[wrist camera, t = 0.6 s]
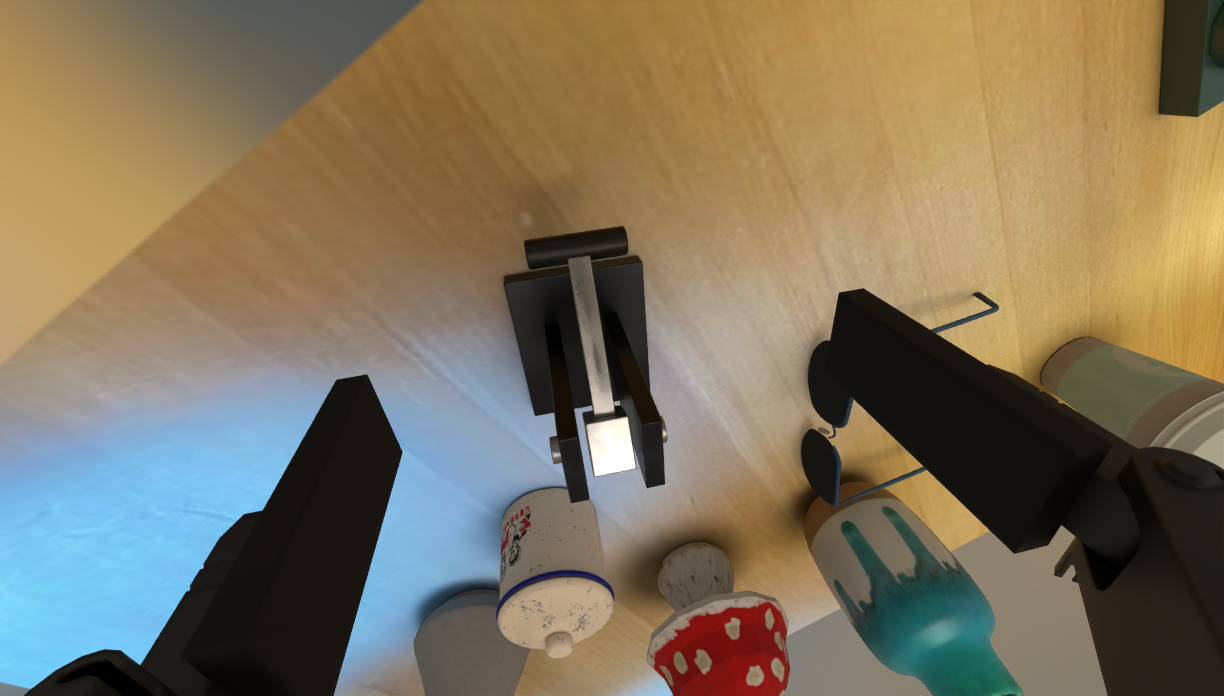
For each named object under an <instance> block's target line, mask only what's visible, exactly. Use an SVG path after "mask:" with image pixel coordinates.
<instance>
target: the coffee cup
mask: <svg viewBox="0 0 1224 696" xmlns="http://www.w3.org/2000/svg"><path fill="white" fill-rule="evenodd" d="M1041 381H1042V384H1043V385H1044V386H1046V387H1047V388H1048V389H1049V390H1051V391H1052V392H1053V393H1055V394H1056V395H1057V396H1058V397H1060V398H1061V399H1062V400H1064V401H1065V402H1066V403H1068V404H1069V405H1070V406H1071V407H1073V408H1074V409H1075V410H1077V411H1078V412H1079V413H1081V414H1082V415H1083V416H1085V417H1087V418H1088V419H1090V420H1091V421H1093V422H1095V423H1096V424H1098V425H1100V426H1101V427H1103V428H1105V429H1106V430H1108V431H1110V432H1111V433H1113V434H1115V435H1116V436H1118V437H1120V438H1121V439H1123V440H1124V441H1126V442H1128V443H1129V444H1131V445H1133V446H1134V447H1136V448H1138V449H1140V448H1145V447H1153V446H1155V447H1163V448H1172V449H1176V450H1179V451H1183V452H1186V453H1190V454H1193V455H1196V456H1198V457H1200V458H1203V459H1205V460H1207V461H1210V462H1212V463H1214V464H1216V465H1218V466H1219V467H1221V468H1222V469H1224V384H1223V383H1220V382H1218V381H1215V380H1212V379H1209V378H1206V377H1204V376H1201V375H1198V374H1195V373H1192V372H1190V371H1187V370H1184V369H1181V368H1178V367H1175V366H1173V365H1170V364H1167V363H1164V362H1161V361H1158V360H1156V359H1153V358H1150V357H1147V356H1144V355H1141V354H1139V353H1136V352H1133V351H1130V350H1127V349H1125V348H1122V347H1119V346H1116V345H1113V344H1110V343H1107V342H1104V341H1102V340H1099V339H1096V338H1093V337H1085V338H1080V339H1077V340H1075V341H1072V342H1070V343H1069V344H1067V345H1065V346H1064V347H1062V348H1061V349H1060V350H1058V351H1057V352H1056V353H1055V354H1054V355H1053V356H1052V357H1051V358H1050V359H1049V361H1048V362H1047V363H1046V365H1045V367H1044V369H1043V371H1042V374H1041Z"/></svg>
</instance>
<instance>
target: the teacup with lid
mask: <svg viewBox="0 0 1224 696" xmlns="http://www.w3.org/2000/svg"><path fill="white" fill-rule="evenodd" d="M613 606H614V593H613V590H612V588H611V586H610V585H609V582H608V576H607V571H606V565H605V560H604V554H603V549H602V543H601V538H600V532H599V527H598V521H597V516H596V511H595V508H594V506H593V505H592V503H591V502H590V501H589V500H586V501H581V502H576V503H571V502H570V498H569V493H568V489H561V488H549V489H543V490H538V491H535V492H532V493H529V494H527V495H525V496H523V497H521V498H520V499H518V500H517V501H516V502H514V503H513V504H512V505H511V506H510V507H509V509H508V510H507V511H506V513H505V515H504V517H503V520H502V531H501V569H500V602H499V604H498V606H497V610H496V620H497V623H498V626H499V629H500V630H501V632H502V634H503V635H504V636H505V637H506V638H507V639H508V640H510V641H511V642H513V643H515V644H517V645H520V646H523V647H527V648H534V649H546V653H547V655H548V656H549V657H551V658H556V659H558V658H563V657H566V656H568V655H569V654H570V653H571V651H572V650H573V644H575V643H577V642H580V641H582V640H584V639H586V638H588V637H590V636H592V635H593V634H595V633H596V632H597V631H599V630H600V629H601V628H602V627H603V626H604V625H605V624H606V622H607V621H608V620H609V618H610V616H611V613H612V611H613Z"/></svg>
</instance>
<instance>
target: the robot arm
mask: <svg viewBox="0 0 1224 696" xmlns="http://www.w3.org/2000/svg"><path fill="white" fill-rule="evenodd" d="M825 372H826V373H827V374H828V375H829V376H830V377H831V378H832V379H833V380H834V381H836V382H837V383H838V384H839V385H840V386H841V387H842V388H843V389H844V390H845V391H846V392H847V393H848V394H849V395H850V396H851V397H852V398H853V399H854V400H855V401H856V402H857V403H858V404H859V405H860V406H861V407H862V408H864V409H865V410H866V411H867V412H868V413H869V414H870V415H871V416H872V417H873V418H874V419H875V420H876V421H877V422H878V423H879V424H880V425H881V426H882V427H883V428H884V429H885V430H886V431H887V432H888V433H889V434H890V435H892V436H893V437H894V438H895V439H896V440H897V441H898V442H899V443H900V444H901V445H902V446H903V447H904V448H905V449H906V450H907V451H908V452H909V453H910V454H911V455H912V456H913V457H914V458H915V459H916V460H917V461H918V462H920V463H921V464H922V465H923V466H924V467H925V468H926V469H927V470H928V471H929V472H930V473H931V474H932V475H933V476H934V477H935V478H936V479H937V480H938V481H939V482H940V483H941V484H942V485H943V486H944V487H945V488H946V489H948V490H949V491H950V492H951V493H952V494H953V495H954V496H955V497H956V498H957V499H958V500H959V501H960V502H961V503H962V504H963V505H964V506H965V507H966V508H967V509H968V510H969V511H970V512H971V513H972V514H973V515H974V516H976V517H977V518H978V519H979V520H980V521H981V522H982V523H983V524H984V525H985V526H986V527H987V528H988V529H989V530H990V531H991V532H992V533H993V534H994V535H995V536H996V537H997V538H998V539H999V540H1000V541H1002V542H1003V543H1004V544H1005V545H1006V546H1007V547H1008V548H1009V549H1010V550H1011V551H1012V552H1013V553H1014V554H1015V553H1019V552H1023V551H1027V550H1031V549H1035V548H1039V547H1043V546H1047V545H1048V544H1049V543H1050V541H1051V540H1052V538H1053V537H1054V535H1055V534H1056V532H1057V531H1058V529H1059V528H1060V526H1061V525H1062V526H1064V527H1065V528H1066V529H1067V530H1069V531H1070V532H1071V533H1072V534H1073V535H1075V536H1076V537H1075V539H1074V540H1073V541H1072V543H1071V544H1070V546H1069V547H1068V549H1067V550H1066V552H1065V553H1064V554H1063V556H1062V558H1061V559H1060V561H1059V562H1058V563H1057V565H1056V566H1055V573H1054V575H1055V576H1058V577H1062V576H1063V575H1064V573H1065V572H1066V571H1067V569H1068V568H1069V567H1070V565H1074V567H1075V572H1076V575H1075V576H1074V577H1073V579H1072V581H1073V582H1077V583H1079V587H1080V591H1081V595H1082V599H1083V602H1084V606H1085V610H1086V614H1087V618H1088V622H1089V625H1090V629H1091V633H1092V637H1093V641H1094V645H1095V649H1096V652H1097V656H1098V660H1099V664H1100V668H1101V671H1102V676H1103V679H1104V683H1105V687H1106V691H1107V695H1108V696H1224V469H1222V468H1221V467H1219V466H1218V465H1216V464H1214V463H1212V462H1210V461H1207V460H1205V459H1203V458H1200V457H1198V456H1196V455H1193V454H1190V453H1186V452H1183V451H1179V450H1176V449H1172V448H1163V447H1155V446H1153V447H1145V448H1140V449H1138V448H1136V447H1134V446H1133V445H1131V444H1129V443H1128V442H1126V441H1124V440H1123V439H1121V438H1120V437H1118V436H1116V435H1115V434H1113V433H1111V432H1110V431H1108V430H1106V429H1105V428H1103V427H1101V426H1100V425H1098V424H1096V423H1095V422H1093V421H1091V420H1090V419H1088V418H1087V417H1085V416H1083V415H1082V414H1080V413H1078V412H1077V411H1075V410H1073V409H1072V408H1070V407H1068V406H1067V405H1065V404H1063V403H1061V404H1059V403H1058V400H1057V399H1055V398H1054V397H1052V396H1050V395H1049V394H1047V393H1045V392H1040V391H1039V388H1037V387H1035V386H1034V385H1032V384H1030V383H1029V382H1027V381H1025V380H1024V379H1022V378H1021V377H1019V376H1017V375H1015V374H1013V373H1010V372H1007V371H1005V370H1002V369H999V368H997V367H994V366H992V365H985V364H984V363H982V362H981V361H979V360H977V359H976V358H974V357H973V356H971V355H969V354H968V353H966V352H965V351H963V350H961V349H960V348H958V347H957V346H955V345H953V344H952V343H950V342H949V341H947V340H945V339H944V338H942V337H941V336H939V335H937V334H936V333H934V332H932V331H931V330H929V329H928V328H926V327H924V326H923V325H921V324H920V323H918V322H916V321H915V320H913V319H912V318H910V317H908V316H907V315H905V314H904V313H902V312H900V311H899V310H897V309H896V308H894V307H892V306H891V305H889V304H888V303H886V302H884V301H883V300H881V299H880V298H878V297H876V296H875V295H873V294H872V293H870V292H868V291H867V290H865V289H864V288H863V289H857V290H851V291H846V292H840V293H839V295H838V301H837V306H836V312H835V317H834V322H833V328H832V333H831V339H830V344H829V350H828V355H827V361H826V366H825ZM401 456H402V450H401V448H400V445H399V443H398V441H397V439H396V436H395V434H394V432H393V430H392V428H391V425H390V423H389V421H388V419H387V417H386V414H385V412H384V410H383V408H382V406H381V403H380V401H379V399H378V397H377V395H376V392H375V390H374V388H373V386H372V384H371V381H370V379H369V377H368V375H361V376H355V377H350V378H344V379H338V380H336V381H335V383H334V385H333V387H332V388H331V390H330V392H329V394H328V396H327V397H326V399H325V401H324V403H323V404H322V406H321V408H320V410H319V412H318V413H317V415H316V417H315V419H314V420H313V422H312V424H311V426H310V427H309V429H308V431H307V433H306V435H305V436H304V438H303V440H302V442H301V443H300V445H299V447H298V449H297V451H296V452H295V454H294V456H293V458H292V459H291V461H290V463H289V465H288V467H287V468H286V470H285V472H284V474H283V475H282V477H281V479H280V481H279V483H278V484H277V486H276V488H275V490H274V491H273V493H272V495H271V497H270V499H269V500H268V502H267V504H266V506H265V507H264V509H263V511H258V512H253V513H248V514H244V515H243V516H242V517H241V518H240V519H239V520H238V521H237V522H236V523H235V524H234V525H233V526H232V527H231V528H229V529H228V530H227V531H226V532H225V533H224V534H223V535H222V536H221V537H220V538H219V540H218V541H217V543H216V545H215V546H214V548H213V549H212V551H211V553H210V554H209V556H208V558H207V559H206V561H205V562H204V564H203V565H204V568H203V569H200V570H199V572H198V574H197V575H196V577H195V578H194V580H193V582H192V583H191V585H190V591H187V592H186V593H185V594H184V596H183V598H182V599H181V601H180V603H179V604H178V606H177V607H176V609H175V611H174V612H173V614H172V615H171V617H170V619H169V620H168V622H167V623H166V625H165V627H164V628H163V630H162V631H161V633H160V635H159V636H158V638H157V640H156V641H155V643H154V644H153V646H152V648H151V649H150V651H149V652H148V654H147V656H146V657H145V659H144V660H143V662H142V664H141V665H139V664H138V663H136V662H135V661H134V660H132V659H131V658H130V657H128V656H127V655H126V654H125V653H123V652H122V651H121V650H106V649H104V650H101V651H97V652H94V653H91V654H88V655H84V656H82V657H80V658H78V659H76V660H74V661H72V662H71V663H69V664H67V665H65V666H63V667H61V668H60V669H58V670H56V671H54V672H53V673H52V674H50V675H49V676H48V677H47V678H45V679H44V680H43V681H41V682H40V683H39V684H37V685H36V686H35V687H33V688H32V689H31V690H29V691H28V692H27V693H26V694H25V695H24V696H334V692H335V688H336V685H337V681H338V678H339V674H340V671H341V667H342V664H343V660H344V657H345V653H346V650H347V646H348V643H349V639H350V636H351V632H352V629H353V625H354V622H355V618H356V615H357V611H358V607H359V604H360V600H361V597H362V593H363V590H364V586H365V583H366V579H367V576H368V572H369V569H370V565H371V562H372V558H373V555H374V551H375V548H376V544H377V541H378V537H379V533H380V530H381V526H382V523H383V519H384V516H385V512H386V509H387V505H388V502H389V498H390V495H391V491H392V488H393V484H394V481H395V477H396V474H397V470H398V467H399V463H400V459H401Z"/></svg>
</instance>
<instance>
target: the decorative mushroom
mask: <svg viewBox="0 0 1224 696" xmlns="http://www.w3.org/2000/svg"><path fill="white" fill-rule="evenodd" d="M658 586H659V589H660V591H661V593H662V594H663V596H664V598H665V599H666V600H667V601H668V603H669V604H670V605H671V606H672V607H673V608H674V610H675V611H676V612H674V613H673V614H672V615H671V616H670V617H669V618H668V619H667V620H666V621H665V622H664V623H662V624H661V625H660V626H659V627H658V628H657V629H656V630H655V631H654V632H653V633H652V635H651V640H650V644H649V648H648V653H647V663H648V664H649V665H650V666H651V667H652V668H653V669H654V670H655V671H656V672H657V673H658V674H660V675H661V676H662V677H663V678H664V679H665V681H666V682H667V684H668V686H669V688H670V690H671V692H672V693H673V695H674V696H782V695H783V694H784V692H785V690H786V688H787V683H788V677H789V672H790V665H789V660H788V654H787V649H786V643H785V641H786V635H787V629H788V623H789V620H788V618H787V616H786V614H785V612H784V610H783V608H782V606H781V604H780V603H779V602H778V601H777V600H776V599H775V598H773V597H769V596H766V595H762V594H759V593H755V592H752V591H742V592H735V593H733V587H734V572H733V568H732V565H731V563H730V561H729V559H728V558H727V556H726V554H725V552H723V551H722V550H720V549H719V548H717V547H715V546H713V545H710V544H707V543H704V542H698V543H689V544H686V545H683V546H681V547H679V548H677V549H675V550H673V551H672V552H671V553H670V554H669V555H668V556H667V557H666V558H665V559H664V560H663V563H662V566H661V569H660V574H659V578H658Z"/></svg>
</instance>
